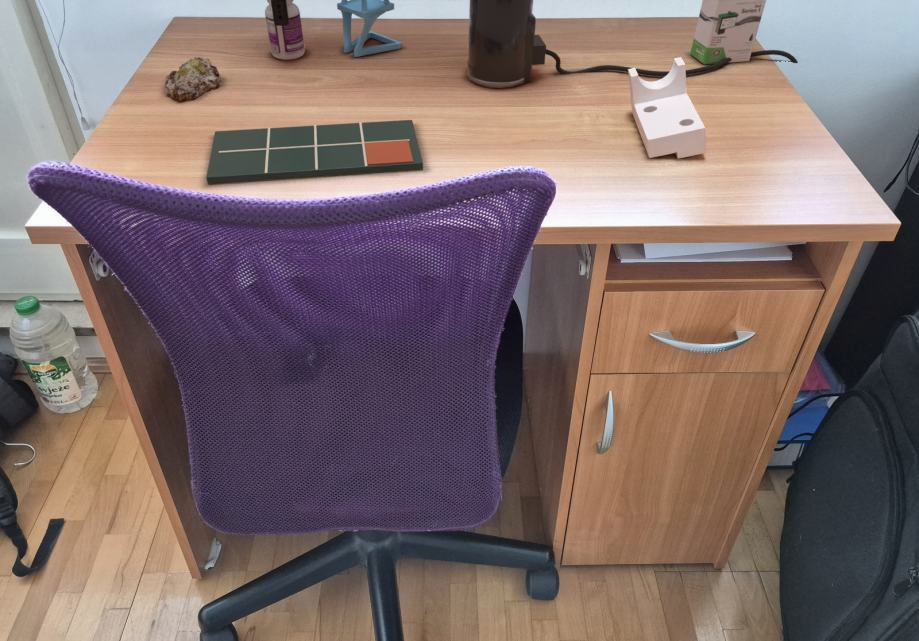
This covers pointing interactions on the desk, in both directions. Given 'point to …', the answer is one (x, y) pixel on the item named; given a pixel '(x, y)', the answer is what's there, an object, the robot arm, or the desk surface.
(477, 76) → the robot arm
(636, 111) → the bracket
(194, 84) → the mineral rock
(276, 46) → the pill bottle
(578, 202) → the desk surface
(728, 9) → the ink box
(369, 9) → the chair
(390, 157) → the grid board
